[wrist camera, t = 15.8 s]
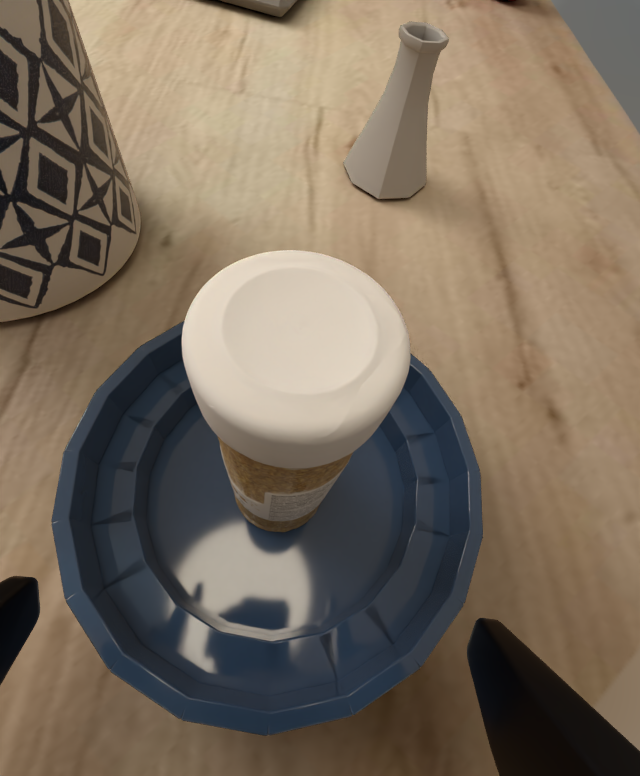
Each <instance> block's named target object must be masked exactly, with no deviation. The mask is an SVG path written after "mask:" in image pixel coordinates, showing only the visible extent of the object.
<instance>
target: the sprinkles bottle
mask: <svg viewBox="0 0 640 776" xmlns="http://www.w3.org/2000/svg"><path fill="white" fill-rule="evenodd" d="M182 356H183V361H184V366H185V369H186V373H187V376H188V379H189V382H190V385H191V388H192V391H193V393H194V396H195V399H196V401H197V403H198V406H199V408H200V410H201V413H202V415H203V417H204V418H205V420H206V422H207V423H208V425H209V426H210V427H211V429H212V430H213V431H214V433H215V434H216V435H217V436H218V439H219V442H220V449H221V453H222V457H223V461H224V464H225V467H226V470H227V473H228V476H229V479H230V482H231V485H232V488H233V491H234V495H235V500H236V502H237V505H238V507H239V509H240V511H241V512H242V514H243V515H244V517H245V518H246V519H247V520H248V521H249V522H250V523H252V524H254V525H255V526H257V527H258V528H261V529H264V530H267V531H273V532H287V531H289V530H292V529H296V528H298V527H300V526H302V525H303V524H305V523H306V522H308V520H309V519H310V518H312V517H313V515H314V514H315V513H316V511H317V509H318V507H319V505H320V504H321V502H322V500H323V499H324V498H325V496H326V495H327V493H328V492H329V490H330V489H331V487H332V486H333V484H334V483H335V481H336V480H337V478H338V477H339V476H340V474H341V473H342V471H343V470H344V468H345V467H346V465H347V464H348V462H349V460H350V458H351V456H352V454H353V452H354V451H355V450H356V449H358V448H359V447H360V446H361V445H362V444H364V443H365V442H366V441H367V440H368V439H369V438H370V437H371V436H372V435H373V433H374V432H375V431H376V430H377V428H378V427H379V425H380V424H381V423H382V421H383V420H384V418H385V417H386V415H387V414H388V412H389V411H390V409H391V407H392V406H393V404H394V403H395V401H396V399H397V398H398V396H399V395H400V393H401V390H402V388H403V386H404V383H405V380H406V378H407V375H408V372H409V365H410V359H411V358H410V339H409V333H408V330H407V327H406V324H405V321H404V319H403V317H402V314H401V312H400V310H399V309H398V307H397V306H396V304H395V302H394V301H393V299H392V298H391V297H390V296H389V294H388V293H387V292H386V291H385V290H384V289H383V288H382V287H381V286H380V285H379V284H378V283H377V282H376V281H375V280H374V279H372V278H371V277H370V276H369V275H367V274H366V273H364V272H363V271H361V270H359V269H358V268H356V267H355V266H353V265H350V264H348V263H346V262H344V261H342V260H340V259H337V258H334V257H331V256H327V255H324V254H320V253H315V252H309V251H299V250H281V251H271V252H266V253H261V254H257V255H254V256H250V257H247V258H244V259H242V260H239V261H237V262H235V263H233V264H231V265H229V266H227V267H226V268H224V269H223V270H221V271H220V272H218V273H217V274H216V275H215V276H213V277H212V278H211V279H210V280H209V281H208V282H207V283H206V284H205V285H204V286H203V287H202V288H201V290H200V291H199V292H198V294H197V295H196V297H195V298H194V300H193V302H192V304H191V306H190V308H189V310H188V312H187V315H186V318H185V321H184V325H183V331H182Z"/></svg>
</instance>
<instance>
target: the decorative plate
mask: <svg viewBox="0 0 640 776" xmlns="http://www.w3.org/2000/svg"><path fill="white" fill-rule="evenodd" d="M220 1H223V2H227V3H231V4H234V5H238V6H241V7H245V8H249V9H252V10H256V11H259V12H263V13H266V14H270V15H274V16H277V17H282V16H283V15H284V14H285V13H286V12H287V11H288V10H289V9H290V8H291V7H292V6H293V4H294V3H295V2H296V1H297V0H220Z"/></svg>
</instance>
